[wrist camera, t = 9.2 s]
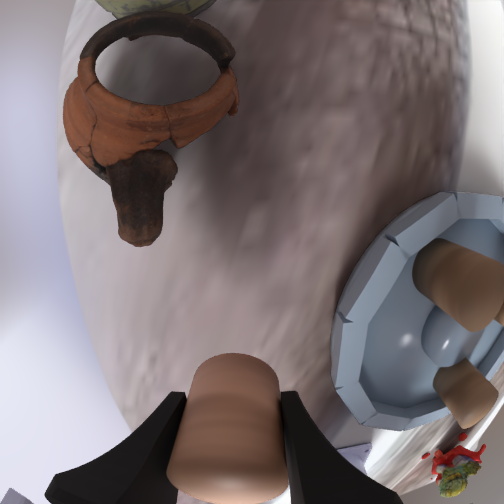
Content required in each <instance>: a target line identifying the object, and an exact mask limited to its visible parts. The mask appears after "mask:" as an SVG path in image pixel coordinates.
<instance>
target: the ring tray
mask: <svg viewBox="0 0 504 504" xmlns="http://www.w3.org/2000/svg"><path fill="white" fill-rule="evenodd" d="M435 238H443V239H446V240H448V241H451V242H453V243H456V244H458V245H461V246H463V247H466V248H468V249H471V250H473V251H475V252H478V253H480V254H483V255H485V256H487V257H490V258H492V259H494V260H496V261H499V262H500V263H502V264H503V265H504V198H502V197H501V196H495V195H489V194H479V193H468V192H461V191H444V192H439V193H438V194H435V195H432V196H430V197H427V198H425V199H422V200H420V201H419V202H417V203H415V204H414V205H412V206H410V207H409V208H407V209H406V210H404V211H403V212H402V213H401V214H399V215H398V216H397V217H396V218H394V219H393V220H392V221H391V222H390V223H389V224H388V225H387V226H386V227H385V228H384V229H383V230H382V231H381V232H380V233H379V234H378V235H377V236H376V238H375V239H374V240H373V242H372V243H371V244H370V245H369V246H368V248H367V249H366V250H365V252H364V253H363V255H362V256H361V258H360V260H359V261H358V263H357V264H356V266H355V267H354V269H353V271H352V273H351V275H350V277H349V279H348V281H347V283H346V285H345V287H344V289H343V292H342V294H341V297H340V299H339V302H338V305H337V308H336V312H335V316H334V319H333V324H332V330H331V337H330V356H331V363H332V366H331V378H332V381H333V384H334V386H335V389H336V392H337V393H338V394H339V396H340V397H341V399H342V400H343V401H344V403H345V404H346V406H347V407H348V408H349V410H350V411H351V413H352V414H353V415H354V417H355V418H356V420H357V421H358V422H359V424H360V423H361V424H362V425H363V426H369V427H375V428H381V429H387V430H394V431H402V430H403V431H405V430H409V429H412V428H415V427H418V426H421V425H424V424H427V423H430V422H432V421H435V420H438V419H440V418H443V417H445V416H447V414H450V413H451V412H450V410H449V409H448V407H447V406H446V405H445V403H444V402H443V400H442V399H441V398H440V396H439V395H438V394H437V392H436V391H435V389H434V388H433V379H434V377H435V375H436V373H437V371H438V370H439V369H440V367H449V366H452V365H455V364H457V363H458V362H460V361H461V360H463V359H464V358H465V357H466V358H467V359H468V360H469V361H470V362H471V363H472V364H473V365H474V366H475V367H476V368H477V369H478V370H479V371H480V372H481V373H482V375H483V376H484V377H485V378H486V379H487V380H489V381H490V380H491V378H492V377H493V376H494V374H495V373H496V371H497V370H498V369H499V367H500V366H501V364H502V363H503V361H504V327H503V326H502V325H501V324H499V323H498V322H497V321H495V320H494V319H493V320H492V322H491V323H490V324H489V325H487V326H486V327H485V328H483V329H482V330H480V331H477V332H470V331H468V330H466V329H465V328H464V327H463V326H461V325H460V324H459V323H458V322H457V321H455V320H454V319H453V318H452V317H450V316H449V315H448V314H447V313H446V312H444V311H443V310H442V309H441V308H439V307H438V306H437V305H436V304H434V303H433V302H432V301H430V300H429V299H428V298H427V297H425V296H424V295H423V294H421V293H420V292H419V291H418V290H417V289H416V287H415V285H414V283H413V279H412V269H413V263H414V260H415V258H416V256H417V254H418V252H419V250H420V249H422V248H423V247H424V246H426V245H427V244H428V243H429V242H431V241H432V240H433V239H435Z"/></svg>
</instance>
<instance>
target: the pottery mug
mask: <svg viewBox="0 0 504 504" xmlns="http://www.w3.org/2000/svg"><path fill="white" fill-rule="evenodd" d="M147 35H163V36H169V37H180V38H182V39H183V40H184V41H186V42H189V43H191V44H193V45H195V46H197V47H199V48H201V49H203V50H204V51H205V52H207V53H208V54H209V55H210V56H211V57H212V58H213V59H214V60H215V61H216V62H217V64H218V67H219V69H220V72H221V75H220V76H219V78H218V79H217V81H216V82H215V84H214V85H213V86H212V87H211V88H210V89H209V90H208V91H206V92H205V93H203V94H201V95H199V96H197V97H195V98H193V99H189V100H186V101H182V102H178V103H173V104H169V105H165V106H160V105H148V104H142V103H137V102H132V101H129V100H127V99H123V98H121V97H119V96H117V95H115V94H113V93H111V92H110V91H108V90H107V89H106V88H105V87H103V85H102V84H101V83H100V82H99V80H98V78H97V76H96V73H95V65H96V60H97V58H98V56H99V55H100V53H101V52H102V51H103V50H104V49H105V48H107V47H108V46H109V45H110V44H112V43H114V42H115V41H117V40H119V39H121V38H122V37H127V38H129V40H130V41H132V40H135V39H137V38H139V37H142V36H147ZM234 56H235V49H234V48H233V46H232V45H231V43H230V42H229V41H228V40H227V38H225V37H224V36H223V35H222V34H221V33H220V32H219V31H218V30H217V29H215V28H214V27H213V26H211V25H210V24H208V23H206V22H204V21H201V20H199V19H194V18H193V17H191V16H188V15H184V14H182V13H173V12H168V11H145V12H139V13H134V14H132V15H127V16H124V17H122V18H119V19H117V20H115V21H112V22H110V23H109V24H107V25H106V26H104V27H102V28H101V29H99V30H98V31H97V32H96V33H95V34H94V35H93V36H92V37H91V38H90V40H89V41H88V42H87V43H86V45H85V47H84V48H83V50H82V52H81V54H80V61H79V64H78V77H77V78H75V79H74V81H73V83H71V84H70V86H69V89H68V90H67V92H66V95H65V99H64V106H63V123H64V128H65V133H66V137H67V140H68V142H69V145H70V146H71V148H72V150H73V152H75V153H76V155H77V156H78V157H79V158H80V160H81V161H82V162H83V163H84V164H85V165H86V166H87V167H88V168H89V169H90V170H91V171H92V172H94V173H95V174H96V175H97V176H98V177H99V178H101V179H102V180H104V181H105V182H107V183H108V184H109V185H110V186H111V191H112V197H113V202H114V204H115V207H116V210H117V218H118V227H119V229H118V234H119V236H120V238H121V239H123V240H124V241H126V242H128V243H129V244H132V245H134V246H136V247H143V246H149V245H151V244H152V243H153V242H154V241H155V240H156V239H157V238H158V237H159V235H160V234H161V231H162V226H163V200H164V192H165V191H166V190H167V189H168V188H169V187H170V186H171V185H172V180H174V178H175V175H176V174H177V172H178V167H177V165H176V163H175V162H174V160H173V158H172V156H171V155H169V154H168V153H167V152H165V151H163V150H154V148H155V147H156V146H158V145H159V144H160V143H161V142H163V141H165V140H167V139H171V141H172V142H173V143H174V145H175V147H176V148H178V149H180V148H182V147H184V146H186V145H187V144H188V143H190V142H192V141H193V140H195V139H197V138H198V137H199V136H200V135H202V134H204V133H205V132H207V131H209V130H210V129H211V128H212V127H213V126H214V125H215V124H216V123H217V122H218V121H219V120H220V119H221V118H223V117H224V116H225V115H226V114H227V113H228V115H229V116H234V115H235V114H236V113H237V106H238V104H239V92H238V87H237V84H236V82H237V79H236V77H234V74H233V70H232V68H231V66H230V61H231V60H232V59H233V58H234Z"/></svg>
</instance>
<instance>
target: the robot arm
mask: <svg viewBox="0 0 504 504" xmlns="http://www.w3.org/2000/svg"><path fill="white" fill-rule="evenodd" d="M186 402H187V398H186V395H185V392H173V391H171V392H170V393H169V394H168V396H167V397H166V398H165V399H164V400H163V401H162V403H161V404H160V405H159V406H158V407H157V408H156V410H155V411H154V412H153V413H152V414H151V415H150V416H149V417H148V418H147V419H146V420H145V421H144V422H143V423H142V424H141V425H140V426H139V427H138V428H137V429H136V430H135V431H134V432H133V433H132V434H131V435H130V436H128V437H127V438H126V439H125V440H123V441H122V442H121V443H120V444H118V445H117V446H115V447H114V448H113V449H111V450H110V451H108V452H106V453H105V454H103V455H102V456H100V457H98V458H96V459H94V460H93V461H91V462H89V463H86V464H84V465H82V466H79V467H77V468H74V469H71V470H69V471H65V472H62V473H59V474H56V475H55V476H54V477H53V479H52V481H51V483H50V485H49V487H48V488H47V490H46V492H45V497H46V499H47V500H48V501H49V502H50V503H51V504H176V503H177V495H178V489H177V488H176V487H175V486H174V485H173V484H172V483H171V482H170V481H169V479H168V477H167V473H166V472H167V467H168V464H169V460H170V457H171V453H172V450H173V446H174V443H175V439H176V436H177V432H178V429H179V425H180V422H181V419H182V415H183V412H184V408H185V405H186ZM280 402H281V412H282V420H283V429H284V439H285V449H286V459H287V470H288V478H289V485H290V494H291V504H403V502H402V500H401V499H400V497H399V496H398V494H397V493H396V492H394V491H392V490H390V489H388V488H386V487H385V486H383V485H381V484H379V483H378V482H376V481H374V480H373V479H371V478H370V477H368V476H367V473H366V470H365V467H364V464H365V462H366V460H367V458H368V456H369V453H370V451H371V449H372V444H370V443H368V444H363V445H359V446H354V447H349V448H344V449H338V450H336V449H335V448H334V447H333V446H332V445H331V443H330V442H329V441H328V440H327V439H326V438H325V436H324V435H323V434H322V433H321V431H320V430H319V429H318V427H317V426H316V424H315V423H314V421H313V420H312V418H311V417H310V415H309V414H308V412H307V410H306V409H305V407H304V405H303V403H302V401H301V399H300V397H299V395H298V392H296V391H285V392H281V400H280ZM0 504H33V503H32V502H31V501H30V500H28V499H27V498H26V497H24V496H23V495H21V494H19V493H18V492H17V491H15V490H13V489H12V488H9V490H8V491H7V493H6V495H5V496H4V498H3V500H2V502H1V503H0ZM471 504H473V503H471Z"/></svg>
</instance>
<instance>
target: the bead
mask: <svg viewBox="0 0 504 504" xmlns="http://www.w3.org/2000/svg"><path fill="white" fill-rule="evenodd" d="M494 320H495V321H497V322H498V323H499V324H501V325H502V326H503V327H504V302H503V304H502V306H501V309H500V310H499V312H498V314H497V315H496V317H495V318H494Z"/></svg>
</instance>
